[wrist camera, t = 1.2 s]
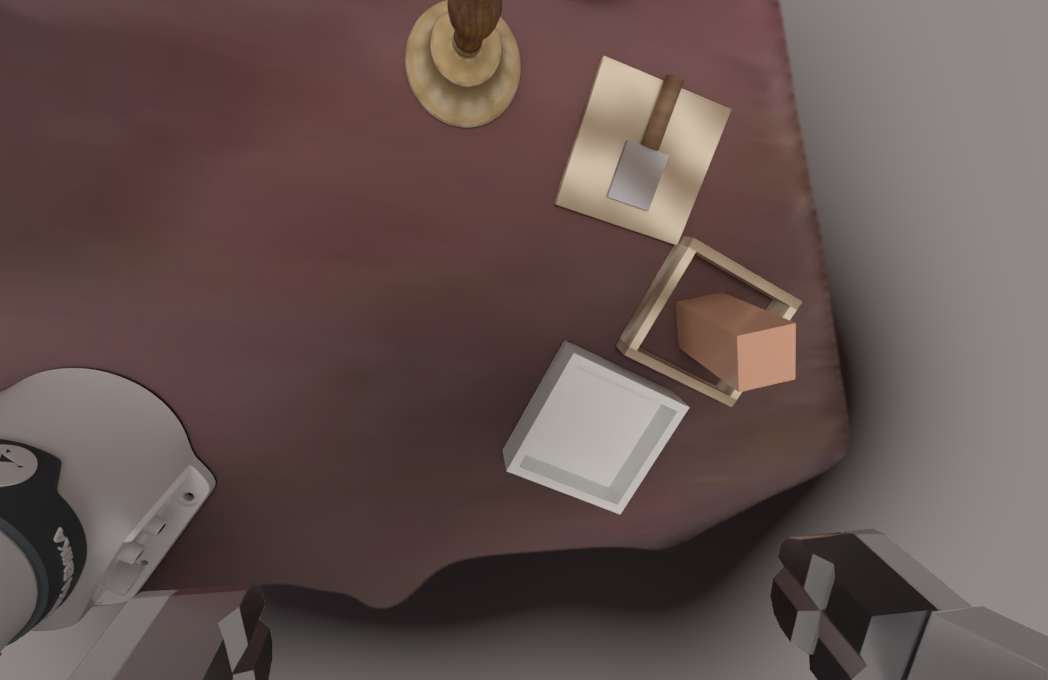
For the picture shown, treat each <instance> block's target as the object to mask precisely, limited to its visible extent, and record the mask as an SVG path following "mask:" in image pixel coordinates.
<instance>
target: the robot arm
mask: <svg viewBox="0 0 1048 680" xmlns="http://www.w3.org/2000/svg"><path fill="white" fill-rule="evenodd" d="M215 483H216V482H215V479H214V477H213V475H212V474H211V472H210V471H209V470H208V469H207V468H206V467H205V466H204V465H203V464H202V462H201V461H200V460H198V459H197V458H196V456H195V455H194V453H193V451H192V449H191V446H190V444H189V441H188V438H187V436H186V433H185V431H184V429H183V427H182V425H181V423H180V422H179V420H178V419H177V417H176V416H175V415H174V413H173V412H172V411H171V410H170V409H169V408H168V407H167V406H166V405H165V404H164V403H163V402H162V401H161V400H160V399H159V398H157V397H156V396H155V395H154V394H152V393H151V392H149V391H148V390H146V389H145V388H143V387H141V386H140V385H138V384H136V383H134V382H132V381H130V380H128V379H125V378H123V377H120V376H117V375H114V374H111V373H107V372H103V371H98V370H93V369H84V368H62V369H54V370H48V371H44V372H41V373H38V374H35V375H32V376H30V377H27V378H25V379H23V380H22V381H20V382H18V383H17V384H15V385H13V386H12V387H10V388H8V389H6V390H4V391H1V392H0V651H1V650H2V649H3V648H4V647H5V646H7V645H9V644H11V643H13V642H14V641H16V640H18V639H19V638H20V637H22V636H23V635H25V634H26V633H27V632H29V631H30V630H33V631H45V630H55V629H60V628H64V627H68V626H71V625H73V624H75V623H77V622H78V621H80V619H82V618H83V616H84V615H85V614H86V613H87V612H88V611H89V609H90V608H91V607H92V606H93V605H111V604H118V603H123V602H127V601H128V602H127V603H126V605H125V606H124V607H123V608H122V610H121V611H120V612H119V614H118V615H117V616H116V618H115V619H114V620H113V622H112V623H111V624H110V625H109V627H108V628H107V629H106V631H105V632H104V633H103V635H102V636H101V637H100V638H99V640H98V641H97V642H96V644H95V645H94V646H93V648H92V649H91V650H90V651H89V653H88V654H87V656H86V657H85V658H84V659H83V661H82V662H81V663H80V664H79V666H78V667H77V668H76V670H75V671H74V672H73V674H72V675H71V676H70V678H69V679H68V680H269V675H270V669H271V663H272V637H271V631H270V628H269V627H268V626H266V625H265V624H264V623H263V622H262V621H260V620H259V618H260V615H261V613H262V611H263V608H264V606H265V601H264V597H263V593H262V589H261V586H259V585H256V584H244V585H228V586H212V587H196V588H181V589H180V590H163V591H144V592H141V593H139V594H137V593H138V591H139V590H140V589H141V588H142V587H143V585H144V584H145V583H146V581H147V580H148V578H149V577H150V576H151V574H152V573H153V572H154V570H155V569H156V568H157V566H158V565H159V563H160V562H161V561H162V559H163V558H164V557H165V555H166V554H167V552H168V551H169V550H170V548H171V547H172V546H173V544H174V543H175V541H176V540H177V539H178V537H179V536H180V535H181V533H182V532H183V531H184V529H185V528H186V526H187V525H188V524H189V522H190V521H191V520H192V518H193V517H194V515H195V514H196V513H197V511H198V510H199V509H200V507H201V506H202V505H203V503H204V502H205V500H206V499H207V498H208V496H209V495H210V494H211V492H212V491H213V489H214V487H215ZM188 493H192V494H193V495H194V496H191V495H189V494H188ZM778 557H779V559H780V561H781V563H782V564H783V566H784V568H783V569H782V570H781V571H780V572H779V573H778V574H777V575H776V576H775V577H774V579H773V582H772V588H771V594H770V597H771V602H772V607H773V611H774V615H775V617H776V619H777V621H778V624H779V626H780V628H781V629H782V631H783V632H784V634H785V635H786V636H787V638H788V639H789V641H790V642H791V643H793V644H794V645H796V646H797V647H799V648H800V649H802V650H803V651H805V652H806V653H808V654H809V663H810V670H811V671H812V673H813V674H814V676H815V677H816V678H817V680H1048V636H1046V635H1044V634H1042V633H1039V632H1037V631H1035V630H1033V629H1031V628H1029V627H1026V626H1024V625H1022V624H1020V623H1018V622H1015V621H1013V620H1011V619H1009V618H1007V617H1005V616H1002V615H1000V614H998V613H996V612H994V611H991V610H989V609H987V608H985V607H983V606H981V607H972V606H971V605H970V604H968V603H967V602H966V601H965V600H964V599H963V598H961V597H960V596H959V595H958V594H956V593H955V592H954V591H953V590H952V589H951V588H949V587H948V586H947V585H946V584H945V583H943V582H942V581H941V580H940V579H938V578H937V577H936V576H935V575H934V574H933V573H931V572H930V571H929V570H928V569H927V568H925V567H924V566H923V565H922V564H921V563H919V562H918V561H917V560H916V559H915V558H913V557H912V556H911V555H910V554H908V553H907V552H906V551H905V550H904V549H902V548H901V547H900V546H899V545H898V544H897V543H895V542H894V541H893V540H892V539H890V538H889V537H888V536H887V535H886V534H884V533H882V532H880V531H877V530H875V529H864V530H854V531H845V532H842V533H840V532H837V533H828V534H817V535H807V536H796V537H787V538H786V540H785V541H784V542H783V543H782V544H781V547H780V551H779V555H778ZM136 594H137V595H136ZM135 595H136V596H135ZM1 654H2V653H0V656H1Z"/></svg>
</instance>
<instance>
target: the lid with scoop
mask: <svg viewBox="0 0 1048 680" xmlns="http://www.w3.org/2000/svg"><path fill="white" fill-rule="evenodd" d="M683 83H684V80H683V79H682V78H680V77H678V76H674V75H666V77H665V80H664V81H663V80H661V79H658V78H656V77H653V76H651V75H649V74H646V73H644V72H642V71H639V70H637V69H634V68H632V67H630V66H627V65H625V64H623V63H620V62H618V61H615V60H613V59H611V58H608V57H606V56H603V57H602V58H601V59H600V62H599V65H598V69H597V72H596V75H595V78H594V81H593V84H592V87H591V90H590V93H589V96H588V99H587V102H586V105H585V109H584V112H583V115H582V118H581V121H580V124H579V127H578V130H577V133H576V136H575V139H574V142H573V146H572V149H571V152H570V155H569V158H568V161H567V164H566V167H565V170H564V173H563V176H562V179H561V182H560V186H559V189H558V192H557V195H556V198H555V201H554V204H555V205H558V206H561V207H564V208H567V209H570V210H573V211H576V212H579V213H582V214H585V215H588V216H591V217H594V218H597V219H600V220H603V221H606V222H609V223H612V224H615V225H618V226H621V227H624V228H627V229H630V230H633V231H636V232H638V233H641V234H644V235H647V236H650V237H653V238H656V239H659V240H662V241H665V242H668V243H671V244H674V245H678V242H679V240H680V237H681V235H682V232H683V230H684V227H685V225H686V222H687V220H688V217H689V215H690V212H691V210H692V207H693V204H694V202H695V199H696V197H697V194H698V192H699V189H700V187H701V184H702V182H703V179H704V177H705V174H706V172H707V169H708V167H709V164H710V162H711V159H712V157H713V154H714V152H715V149H716V147H717V144H718V142H719V139H720V137H721V134H722V132H723V129H724V127H725V124H726V122H727V119H728V117H729V114H730V112H731V109H730V108H727V107H725V106H722V105H720V104H718V103H715V102H713V101H711V100H708V99H706V98H703V97H701V96H699V95H696V94H694V93H692V92H689V91H687V90H684V89H682V86H683Z"/></svg>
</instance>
